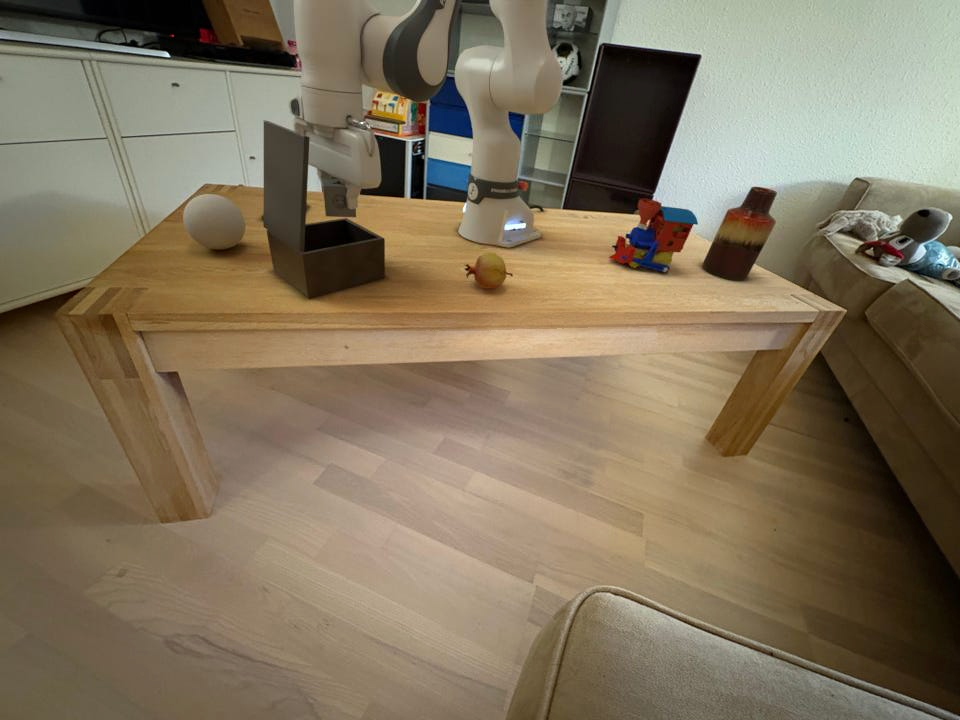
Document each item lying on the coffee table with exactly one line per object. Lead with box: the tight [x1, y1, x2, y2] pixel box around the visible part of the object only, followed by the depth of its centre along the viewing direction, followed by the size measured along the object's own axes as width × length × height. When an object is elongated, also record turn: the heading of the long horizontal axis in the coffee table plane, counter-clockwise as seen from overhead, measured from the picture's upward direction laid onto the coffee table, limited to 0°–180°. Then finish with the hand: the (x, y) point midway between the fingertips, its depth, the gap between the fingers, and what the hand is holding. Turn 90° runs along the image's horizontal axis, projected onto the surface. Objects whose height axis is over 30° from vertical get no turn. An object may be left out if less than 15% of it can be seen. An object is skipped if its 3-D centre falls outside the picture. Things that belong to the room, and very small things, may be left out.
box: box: [266, 217, 386, 299], centre depth 76 cm, size 16×13×8 cm
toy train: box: [608, 198, 699, 274], centre depth 99 cm, size 10×16×15 cm, turn 93°
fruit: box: [463, 252, 514, 290], centre depth 80 cm, size 7×7×10 cm
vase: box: [701, 186, 778, 282], centre depth 101 cm, size 11×11×20 cm
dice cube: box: [322, 177, 357, 218], centre depth 72 cm, size 5×5×5 cm
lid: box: [263, 119, 310, 252], centre depth 64 cm, size 16×13×1 cm
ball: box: [182, 193, 246, 250], centre depth 79 cm, size 10×10×10 cm
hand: (340, 202), depth 72 cm, fingers closed on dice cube, 5 cm apart
